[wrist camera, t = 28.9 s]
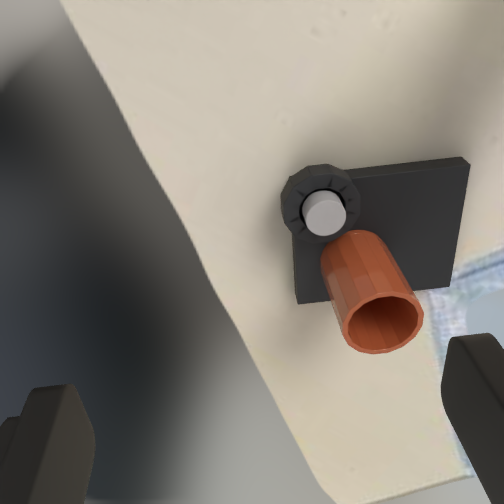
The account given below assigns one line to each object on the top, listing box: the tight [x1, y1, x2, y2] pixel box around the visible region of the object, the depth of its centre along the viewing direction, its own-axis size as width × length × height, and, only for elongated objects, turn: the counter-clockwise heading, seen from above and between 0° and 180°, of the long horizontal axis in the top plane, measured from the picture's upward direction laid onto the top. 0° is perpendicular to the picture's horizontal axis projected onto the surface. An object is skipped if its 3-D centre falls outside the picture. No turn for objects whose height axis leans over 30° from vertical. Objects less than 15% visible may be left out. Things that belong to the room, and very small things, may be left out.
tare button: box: [302, 190, 346, 236], centre depth 36 cm, size 3×3×2 cm
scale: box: [281, 157, 470, 304], centre depth 40 cm, size 15×13×4 cm
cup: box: [320, 230, 424, 354], centre depth 37 cm, size 6×6×8 cm
